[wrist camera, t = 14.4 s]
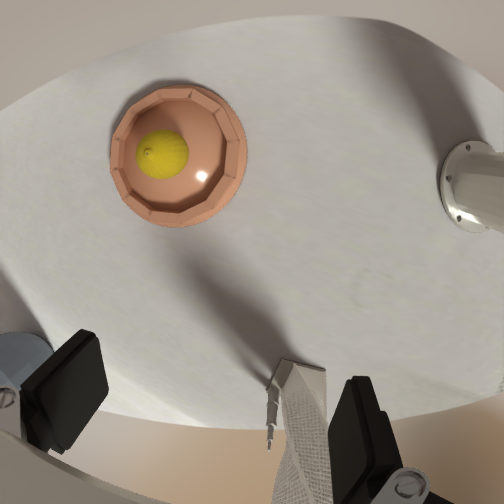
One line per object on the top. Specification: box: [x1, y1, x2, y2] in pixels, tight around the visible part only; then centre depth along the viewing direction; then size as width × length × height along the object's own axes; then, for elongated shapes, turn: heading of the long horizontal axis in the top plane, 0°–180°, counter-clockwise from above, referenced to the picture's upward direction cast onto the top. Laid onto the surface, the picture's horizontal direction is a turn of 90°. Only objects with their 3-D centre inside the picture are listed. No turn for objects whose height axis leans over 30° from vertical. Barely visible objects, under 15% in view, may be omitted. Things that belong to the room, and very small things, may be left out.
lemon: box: [135, 129, 189, 179], centre depth 31 cm, size 6×6×8 cm
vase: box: [0, 332, 54, 392], centre depth 37 cm, size 20×20×24 cm
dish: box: [110, 85, 248, 227], centre depth 34 cm, size 18×18×2 cm
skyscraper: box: [265, 359, 333, 504], centre depth 29 cm, size 8×8×28 cm
